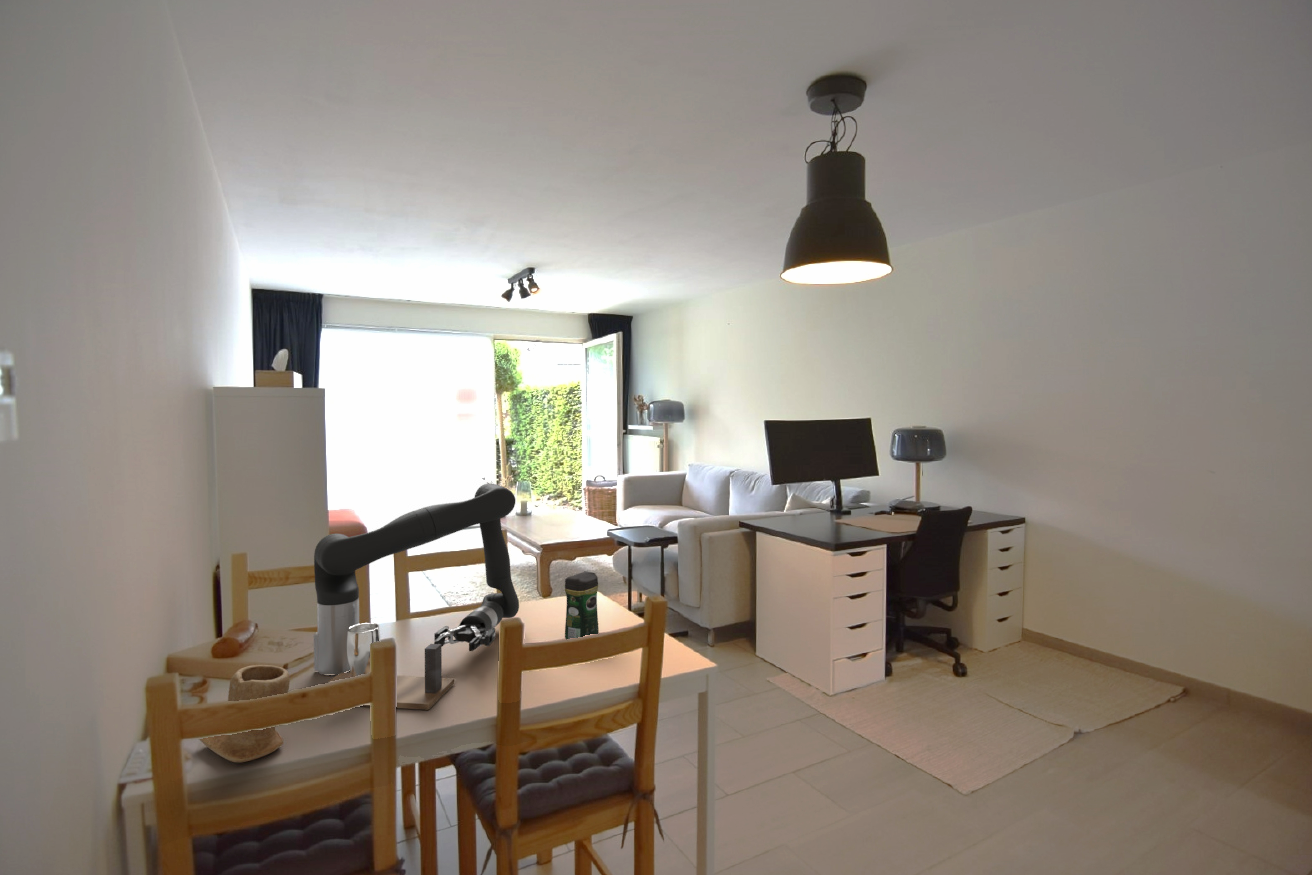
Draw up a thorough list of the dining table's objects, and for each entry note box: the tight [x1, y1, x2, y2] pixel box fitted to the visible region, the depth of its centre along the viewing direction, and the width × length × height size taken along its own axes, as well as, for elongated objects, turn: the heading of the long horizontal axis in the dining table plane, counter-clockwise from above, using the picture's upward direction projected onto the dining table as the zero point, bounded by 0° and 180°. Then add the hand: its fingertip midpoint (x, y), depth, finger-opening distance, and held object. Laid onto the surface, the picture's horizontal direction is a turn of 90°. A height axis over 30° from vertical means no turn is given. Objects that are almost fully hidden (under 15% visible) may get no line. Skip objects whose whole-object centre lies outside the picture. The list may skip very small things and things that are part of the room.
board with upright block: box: [327, 643, 455, 711], centre depth 142 cm, size 28×13×11 cm, turn 84°
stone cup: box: [198, 664, 291, 764], centre depth 119 cm, size 15×12×15 cm
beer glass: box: [347, 622, 381, 677], centre depth 142 cm, size 7×7×15 cm
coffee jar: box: [564, 570, 600, 640], centre depth 178 cm, size 10×8×19 cm
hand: (453, 646), depth 152 cm, fingers open, 8 cm apart
